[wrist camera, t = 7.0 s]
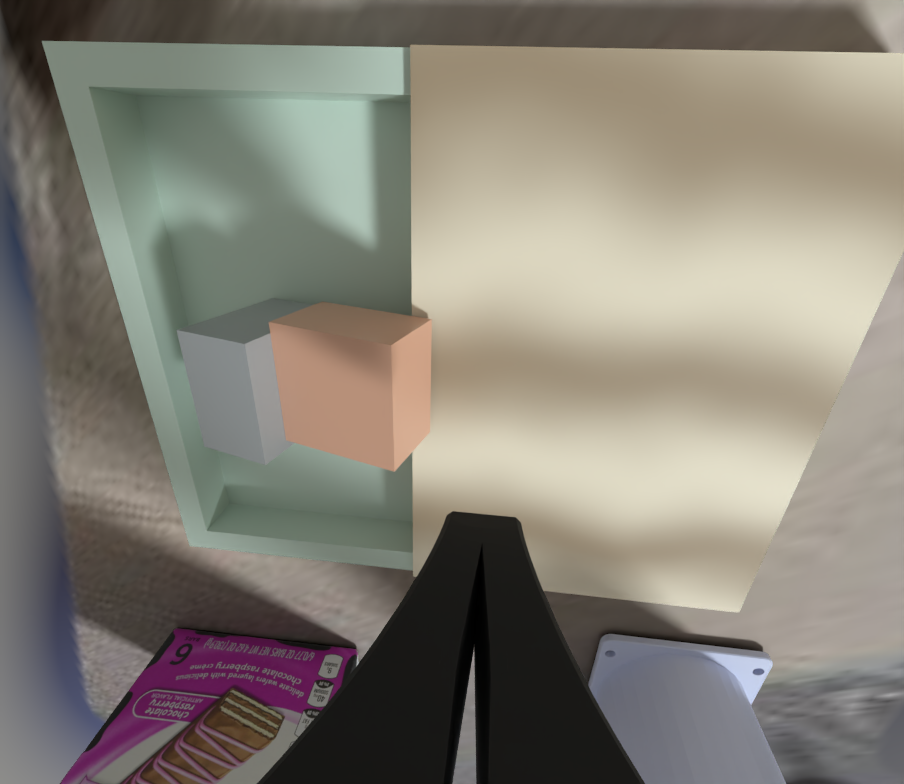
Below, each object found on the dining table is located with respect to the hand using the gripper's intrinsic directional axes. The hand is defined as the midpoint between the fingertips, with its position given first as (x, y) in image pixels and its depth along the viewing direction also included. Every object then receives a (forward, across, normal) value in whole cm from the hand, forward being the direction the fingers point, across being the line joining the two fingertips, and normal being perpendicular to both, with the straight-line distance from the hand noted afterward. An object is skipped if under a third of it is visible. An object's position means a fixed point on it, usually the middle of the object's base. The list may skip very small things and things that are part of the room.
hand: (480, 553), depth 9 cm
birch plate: (+9, -4, 0) cm, 10 cm away
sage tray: (+9, +8, 0) cm, 12 cm away
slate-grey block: (+6, +6, 0) cm, 9 cm away
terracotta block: (+7, +4, -1) cm, 8 cm away
